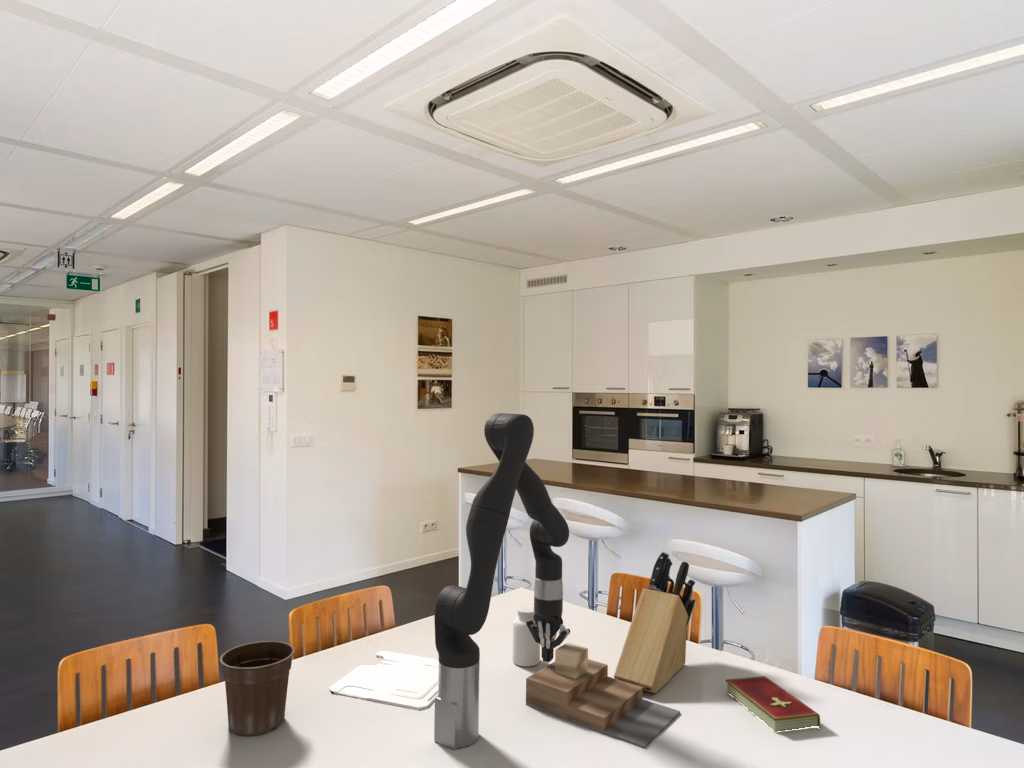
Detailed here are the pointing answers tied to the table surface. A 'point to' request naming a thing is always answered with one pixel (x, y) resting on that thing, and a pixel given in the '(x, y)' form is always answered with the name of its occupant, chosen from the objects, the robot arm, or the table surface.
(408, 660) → the tray
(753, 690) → the hardcover book
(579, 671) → the maple cube
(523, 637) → the pill bottle
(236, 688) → the plant pot
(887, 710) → the table surface
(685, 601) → the knife block
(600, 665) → the walnut staircase
